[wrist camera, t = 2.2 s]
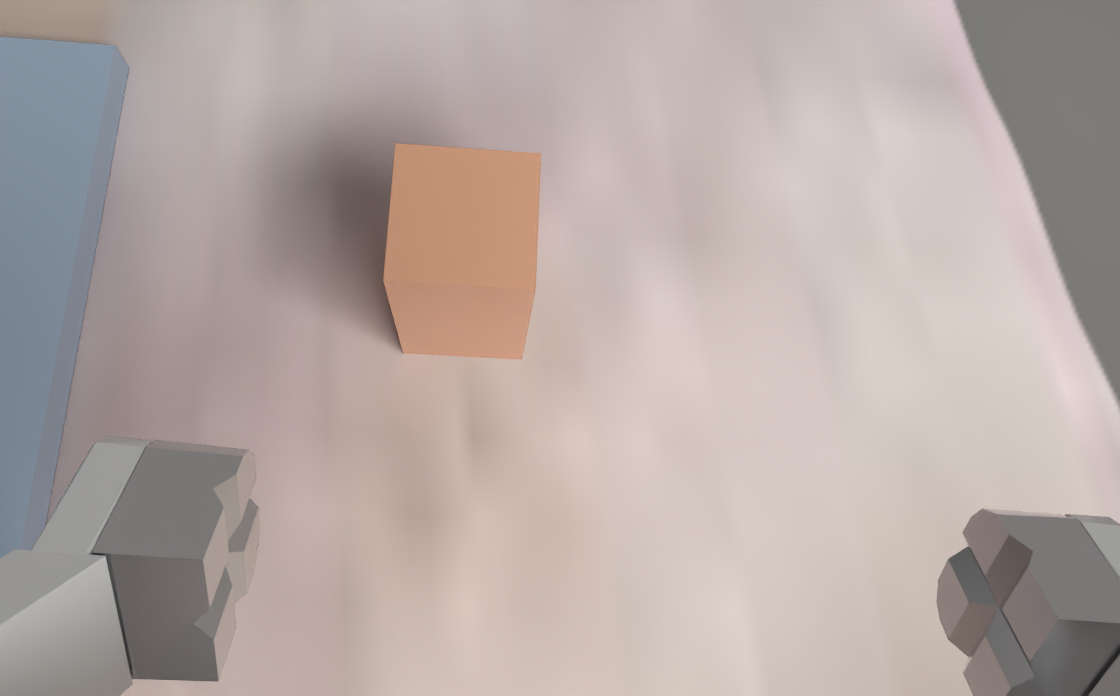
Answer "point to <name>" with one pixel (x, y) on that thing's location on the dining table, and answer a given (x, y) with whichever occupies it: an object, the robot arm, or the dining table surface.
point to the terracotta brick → (462, 249)
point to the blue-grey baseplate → (47, 250)
